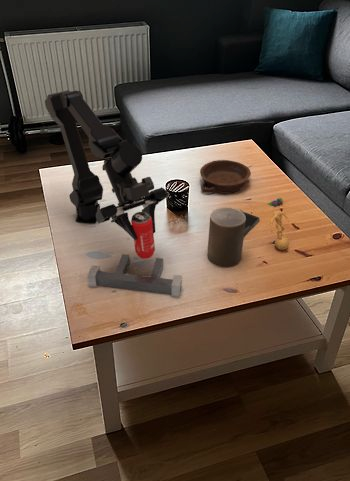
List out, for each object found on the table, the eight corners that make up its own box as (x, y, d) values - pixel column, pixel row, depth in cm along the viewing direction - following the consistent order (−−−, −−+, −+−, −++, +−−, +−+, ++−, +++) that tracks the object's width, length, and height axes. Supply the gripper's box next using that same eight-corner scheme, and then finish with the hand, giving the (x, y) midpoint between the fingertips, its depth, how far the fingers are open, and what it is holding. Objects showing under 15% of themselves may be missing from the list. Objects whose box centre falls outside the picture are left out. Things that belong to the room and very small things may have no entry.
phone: (214, 232, 145) (239, 210, 154) (214, 235, 145) (238, 212, 155) (237, 241, 141) (261, 218, 151) (237, 244, 142) (260, 221, 151)
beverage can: (147, 262, 124) (142, 226, 117) (131, 255, 127) (126, 219, 119) (159, 251, 127) (155, 215, 120) (144, 244, 130) (139, 208, 122)
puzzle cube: (276, 201, 161) (277, 195, 159) (282, 205, 159) (283, 199, 157) (266, 204, 159) (267, 198, 158) (271, 208, 157) (272, 202, 156)
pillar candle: (231, 271, 131) (237, 227, 122) (200, 259, 135) (203, 215, 126) (247, 253, 138) (253, 209, 129) (217, 242, 142) (220, 199, 133)
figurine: (278, 257, 136) (284, 223, 129) (260, 248, 139) (265, 214, 132) (294, 245, 141) (301, 211, 134) (277, 236, 144) (282, 202, 137)
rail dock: (89, 286, 126) (87, 275, 124) (101, 259, 135) (100, 248, 133) (179, 297, 123) (179, 286, 121) (185, 269, 132) (186, 258, 130)
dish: (262, 180, 171) (264, 168, 168) (225, 205, 158) (226, 192, 155) (223, 164, 181) (224, 152, 178) (185, 187, 167) (185, 174, 164)
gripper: (96, 180, 111) (123, 242, 110) (164, 159, 119) (188, 217, 119) (85, 194, 121) (109, 251, 120) (148, 173, 129) (170, 227, 129)
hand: (145, 236), depth 122 cm, fingers closed on beverage can, 5 cm apart
